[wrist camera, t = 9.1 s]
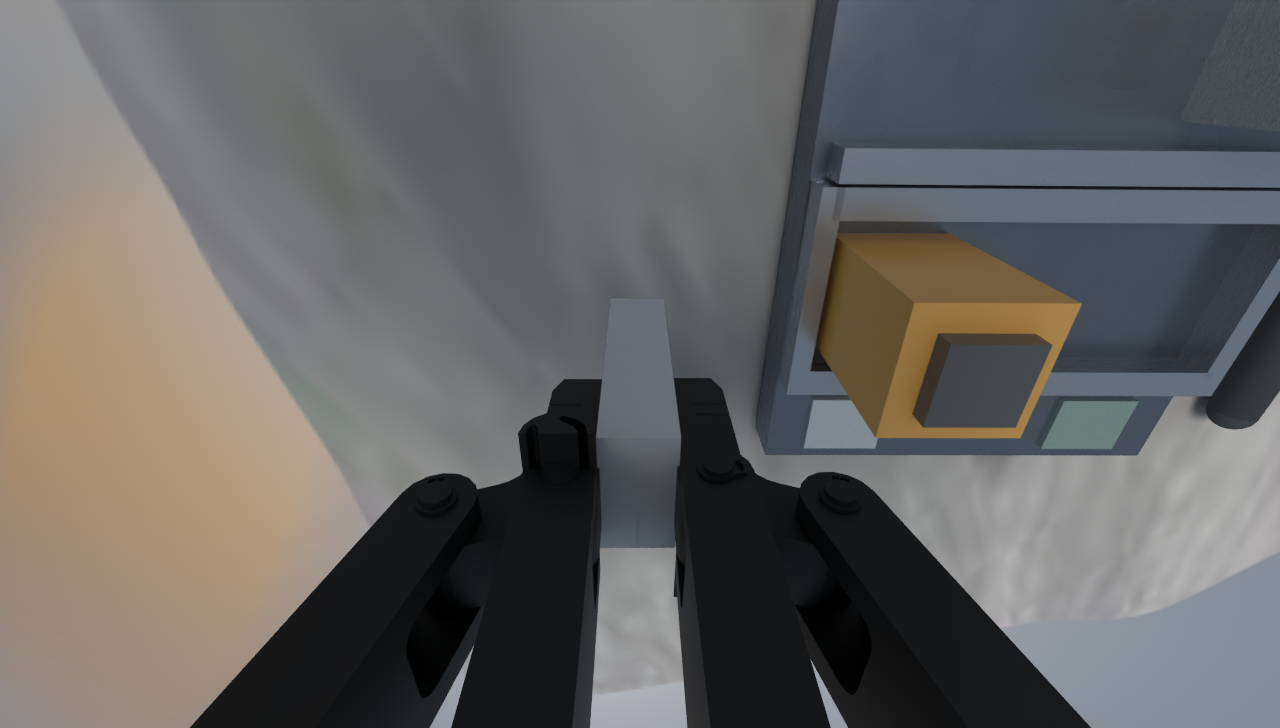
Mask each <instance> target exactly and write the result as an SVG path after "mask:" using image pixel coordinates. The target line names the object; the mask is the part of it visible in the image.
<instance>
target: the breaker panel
mask: <svg viewBox="0 0 1280 728" xmlns="http://www.w3.org/2000/svg"><path fill="white" fill-rule="evenodd" d="M837 233H920V234H951V235H953V236H955V237H957V238H959V239H961V240H963V241H965V242H967V243H968V244H970V245H972V246H974V247H976V248H978V249H980V250H982V251H984V252H985V253H987V254H989V255H991V256H993V257H995V258H997V259H999V260H1001V261H1002V262H1004V263H1006V264H1008V265H1010V266H1012V267H1014V268H1016V269H1018V270H1019V271H1021V272H1023V273H1025V274H1027V275H1029V276H1031V277H1033V278H1035V279H1036V280H1038V281H1040V282H1042V283H1044V284H1046V285H1048V286H1050V287H1052V288H1053V289H1055V290H1057V291H1059V292H1061V293H1063V294H1065V295H1067V296H1069V297H1070V298H1072V299H1074V300H1076V301H1078V302H1080V303H1082V305H1081V307H1080V309H1079V311H1078V313H1077V316H1076V318H1075V320H1074V322H1073V324H1072V327H1071V329H1070V331H1069V333H1068V335H1067V337H1066V340H1065V342H1064V344H1063V346H1062V348H1061V351H1060V353H1059V355H1058V357H1057V359H1056V361H1055V364H1054V366H1053V368H1052V370H1051V372H1050V375H1049V377H1048V379H1047V381H1046V383H1045V385H1044V388H1043V390H1042V392H1041V394H1040V396H1039V399H1038V401H1037V403H1036V405H1035V407H1034V409H1033V412H1032V414H1031V416H1030V418H1029V420H1028V423H1027V425H1026V427H1025V429H1024V431H1023V433H1022V436H1021V438H875V436H874V435H873V433H872V432H871V430H870V429H869V427H868V426H867V424H866V422H865V421H864V419H863V418H862V416H861V415H860V413H859V412H858V410H857V409H856V407H855V405H854V404H853V402H852V401H851V399H850V398H849V396H848V395H847V393H846V392H845V390H844V389H843V387H842V385H841V384H840V382H839V381H838V379H837V378H836V376H835V375H834V373H833V372H832V370H831V368H830V367H829V365H828V364H827V362H826V361H825V359H824V358H823V356H822V355H821V353H820V351H819V350H818V348H817V347H816V345H815V344H816V339H817V334H818V328H819V323H820V318H821V313H822V308H823V303H824V298H825V293H826V288H827V283H828V277H829V272H830V267H831V262H832V257H833V252H834V247H835V242H836V237H837ZM1279 292H1280V0H818V3H817V10H816V17H815V23H814V30H813V37H812V44H811V51H810V58H809V65H808V72H807V78H806V85H805V92H804V99H803V106H802V113H801V120H800V126H799V133H798V140H797V147H796V154H795V161H794V168H793V175H792V181H791V188H790V195H789V202H788V209H787V216H786V223H785V229H784V236H783V243H782V250H781V257H780V264H779V271H778V277H777V284H776V291H775V298H774V305H773V312H772V319H771V326H770V332H769V339H768V346H767V353H766V360H765V367H764V374H763V380H762V387H761V394H760V401H759V408H758V415H757V422H756V429H757V432H758V435H759V438H760V441H761V444H762V447H763V449H764V452H765V455H1138V453H1139V452H1140V450H1141V448H1142V447H1143V445H1144V444H1145V442H1146V440H1147V439H1148V437H1149V435H1150V434H1151V432H1152V430H1153V429H1154V427H1155V425H1156V424H1157V422H1158V421H1159V419H1160V417H1161V416H1162V414H1163V412H1164V411H1165V409H1166V407H1167V406H1168V404H1169V402H1170V401H1171V399H1172V398H1173V396H1212V394H1213V393H1214V391H1215V390H1216V388H1217V387H1218V385H1219V384H1220V382H1221V381H1222V379H1223V378H1224V376H1225V375H1226V373H1227V371H1228V370H1229V368H1230V367H1231V365H1232V364H1233V362H1234V361H1235V359H1236V358H1237V356H1238V355H1239V353H1240V351H1241V350H1242V348H1243V347H1244V345H1245V344H1246V342H1247V341H1248V339H1249V338H1250V336H1251V335H1252V333H1253V332H1254V330H1255V328H1256V327H1257V325H1258V324H1259V322H1260V321H1261V319H1262V318H1263V316H1264V315H1265V313H1266V312H1267V310H1268V308H1269V307H1270V305H1271V304H1272V302H1273V301H1274V299H1275V298H1276V296H1277V295H1278V293H1279Z"/></svg>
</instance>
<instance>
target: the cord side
mask: <svg viewBox="0 0 1280 728" xmlns="http://www.w3.org/2000/svg"><path fill="white" fill-rule="evenodd" d="M1279 391H1280V293H1279V295H1278V296H1277V298H1276V299H1275V301H1274V302H1273V304H1272V305H1271V307H1270V308H1269V310H1268V311H1267V313H1266V315H1265V316H1264V318H1263V319H1262V321H1261V322H1260V324H1259V325H1258V327H1257V328H1256V330H1255V331H1254V333H1253V335H1252V336H1251V338H1250V339H1249V341H1248V342H1247V344H1246V345H1245V347H1244V348H1243V350H1242V351H1241V353H1240V354H1239V356H1238V358H1237V359H1236V361H1235V362H1234V364H1233V365H1232V367H1231V368H1230V370H1229V371H1228V373H1227V374H1226V376H1225V377H1224V379H1223V381H1222V382H1221V384H1220V385H1219V387H1218V388H1217V390H1216V391H1215V393H1214V394H1213V396H1212V397H1211V399H1210V400H1209V402H1208V404H1207V406H1206V413H1207V416H1208V417H1209V419H1210V420H1211V421H1212V422H1213V423H1215V424H1216V425H1218V426H1220V427H1223V428H1227V429H1243V428H1247V427H1250V426H1252V425H1253V424H1255V423H1256V422H1257V421H1258V420H1259V419H1260V417H1261V416H1262V415H1263V413H1264V412H1265V410H1266V409H1267V408H1268V406H1269V405H1270V404H1271V402H1272V401H1273V399H1274V398H1275V397H1276V395H1277V394H1278V393H1279Z"/></svg>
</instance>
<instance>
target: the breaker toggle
mask: <svg viewBox="0 0 1280 728" xmlns="http://www.w3.org/2000/svg"><path fill="white" fill-rule="evenodd" d="M1081 305H1082V303H1080V302H1078V301H1076V300H1074V299H1072V298H1070V297H1069V296H1067V295H1065V294H1063V293H1061V292H1059V291H1057V290H1055V289H1053V288H1052V287H1050V286H1048V285H1046V284H1044V283H1042V282H1040V281H1038V280H1036V279H1035V278H1033V277H1031V276H1029V275H1027V274H1025V273H1023V272H1021V271H1019V270H1018V269H1016V268H1014V267H1012V266H1010V265H1008V264H1006V263H1004V262H1002V261H1001V260H999V259H997V258H995V257H993V256H991V255H989V254H987V253H985V252H984V251H982V250H980V249H978V248H976V247H974V246H972V245H970V244H968V243H967V242H965V241H963V240H961V239H959V238H957V237H955V236H953V235H951V234H920V233H837V237H836V242H835V247H834V252H833V257H832V262H831V267H830V272H829V277H828V283H827V288H826V293H825V298H824V303H823V308H822V313H821V318H820V323H819V328H818V334H817V339H816V344H815V345H816V347H817V348H818V350H819V351H820V353H821V355H822V356H823V358H824V359H825V361H826V362H827V364H828V365H829V367H830V368H831V370H832V372H833V373H834V375H835V376H836V378H837V379H838V381H839V382H840V384H841V385H842V387H843V389H844V390H845V392H846V393H847V395H848V396H849V398H850V399H851V401H852V402H853V404H854V405H855V407H856V409H857V410H858V412H859V413H860V415H861V416H862V418H863V419H864V421H865V422H866V424H867V426H868V427H869V429H870V430H871V432H872V433H873V435H874V436H875V438H1021V436H1022V433H1023V431H1024V429H1025V427H1026V425H1027V423H1028V420H1029V418H1030V416H1031V414H1032V412H1033V409H1034V407H1035V405H1036V403H1037V401H1038V399H1039V396H1040V394H1041V392H1042V390H1043V388H1044V385H1045V383H1046V381H1047V379H1048V377H1049V375H1050V372H1051V370H1052V368H1053V366H1054V364H1055V361H1056V359H1057V357H1058V355H1059V353H1060V351H1061V348H1062V346H1063V344H1064V342H1065V340H1066V337H1067V335H1068V333H1069V331H1070V329H1071V327H1072V324H1073V322H1074V320H1075V318H1076V316H1077V313H1078V311H1079V309H1080V307H1081Z"/></svg>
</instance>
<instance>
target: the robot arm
mask: <svg viewBox="0 0 1280 728" xmlns="http://www.w3.org/2000/svg"><path fill="white" fill-rule="evenodd" d="M518 436H519V444H520V452H521V460H522V468H523V472H522V474H521V475H520V476H519V477H517V478H515V479H513V480H511V481H508V482H505V483H502V484H499V485H495V486H490V487H486V488H482V489H477V488H476V485H475V484H474V483H473V482H472V481H471V480H470V479H469V478H468V477H465V476H462V475H459V474H445V473H443V474H438V475H434V476H429V477H426V478H424V479H422V480H420V481H418V482H416V483H413V484H412V485H411V486H410V487H409V488H407V489H406V490H405V491H404V492H402V493H401V495H400V496H399V497H398V498H397V499H396V500H395V501H394V502H393V503H392V505H391V506H390V507H389V508H388V509H387V510H386V511H385V512H384V513H383V514H382V516H381V517H380V518H379V519H378V520H377V521H376V522H375V523H374V524H373V526H372V527H371V528H370V529H369V530H368V531H367V532H366V533H365V534H364V536H363V537H362V538H361V539H360V540H359V541H358V542H357V543H356V545H355V546H354V547H353V548H352V549H351V550H350V551H349V552H348V553H347V554H346V555H345V557H344V558H343V559H342V560H341V561H340V562H339V563H338V564H337V565H336V566H335V568H334V569H333V570H332V571H331V572H330V573H329V574H328V575H327V576H326V578H325V579H324V580H323V581H322V582H321V583H320V584H319V585H318V586H317V588H316V589H315V590H314V591H313V592H312V593H311V594H310V595H309V596H308V597H307V599H306V600H305V601H304V602H303V603H302V604H301V605H300V606H299V607H298V609H297V610H296V611H295V612H294V613H293V614H292V615H291V616H290V617H289V618H288V620H287V621H286V622H285V623H284V624H283V625H282V626H281V627H280V628H279V630H278V631H277V632H276V633H275V634H274V635H273V636H272V637H271V638H270V640H269V641H268V642H267V643H266V644H265V645H264V646H263V647H262V648H261V649H260V651H259V652H258V653H257V654H256V655H255V656H254V657H253V658H252V659H251V661H250V662H249V663H248V664H247V665H246V666H245V667H244V668H243V670H242V671H241V672H240V673H239V674H238V675H237V676H236V677H235V678H234V679H233V680H232V682H231V683H230V684H229V685H228V686H227V687H226V688H225V689H224V690H223V692H222V693H221V694H220V695H219V696H218V697H217V698H216V699H215V700H214V701H213V703H212V704H211V705H210V706H209V707H208V708H207V709H206V710H205V711H204V713H203V714H202V715H201V716H200V717H199V718H198V719H197V720H196V721H195V723H194V724H193V725H192V726H191V727H190V728H430V726H431V724H432V722H433V720H434V718H435V716H436V715H437V713H438V711H439V709H440V707H441V705H442V703H443V702H444V700H445V698H446V696H447V694H448V692H449V690H450V689H451V686H452V685H453V683H454V681H455V679H456V677H457V675H458V674H459V672H460V670H461V668H462V666H463V664H464V662H465V661H466V659H467V657H468V655H469V653H470V651H471V649H472V647H473V646H474V648H473V652H472V655H471V659H470V662H469V666H468V669H467V673H466V677H465V680H464V684H463V687H462V691H461V695H460V698H459V703H458V706H457V709H456V713H455V716H454V720H453V723H452V727H451V728H590V717H591V703H592V688H593V673H594V658H595V643H596V628H597V613H598V597H599V582H600V548H675V540H676V566H675V582H674V597H677V599H678V612H679V625H680V638H681V651H682V663H683V676H684V688H685V701H686V715H687V727H688V728H831V727H830V724H829V721H828V717H827V714H826V711H825V707H824V704H823V700H822V697H821V694H820V690H819V687H818V683H817V680H816V677H815V673H814V670H813V667H812V663H811V661H812V662H813V664H814V666H815V668H816V670H817V671H818V673H819V675H820V677H821V679H822V680H823V682H824V684H825V686H826V688H827V690H828V692H829V693H830V695H831V697H832V699H833V700H834V702H835V704H836V706H837V708H838V710H839V712H840V713H841V715H842V717H843V719H844V720H845V722H846V724H847V726H848V728H1091V727H1090V726H1089V725H1088V724H1087V723H1086V722H1085V721H1084V720H1083V719H1082V717H1081V716H1080V715H1079V714H1078V713H1077V712H1076V711H1075V710H1074V709H1073V708H1072V706H1070V704H1069V703H1068V702H1067V701H1066V700H1065V699H1064V698H1063V697H1062V696H1061V694H1060V693H1059V692H1058V691H1057V690H1056V689H1055V688H1054V687H1053V686H1052V685H1051V684H1050V683H1049V682H1048V680H1047V679H1046V678H1045V677H1044V676H1043V675H1042V674H1041V673H1040V672H1039V671H1038V669H1037V668H1036V667H1034V665H1033V664H1032V663H1031V662H1030V661H1029V660H1028V659H1027V658H1026V656H1025V655H1024V654H1023V653H1022V652H1021V651H1020V650H1019V649H1018V648H1017V647H1016V645H1015V644H1014V643H1013V642H1012V641H1011V640H1010V639H1009V638H1008V637H1007V636H1006V635H1005V633H1004V632H1003V631H1002V630H1001V629H1000V628H999V627H998V626H997V625H996V624H995V623H994V622H993V620H992V619H991V618H990V617H989V616H988V615H987V614H986V613H985V612H984V611H983V610H982V608H981V607H980V606H979V605H978V604H977V603H976V602H975V601H974V600H973V599H972V598H971V596H970V595H969V594H968V593H967V592H966V591H965V590H964V589H963V588H962V587H961V586H960V584H959V583H958V582H957V581H956V580H955V579H954V578H953V577H952V576H951V575H950V574H949V572H948V571H947V570H946V569H945V568H944V567H943V566H942V565H941V564H940V563H939V562H938V561H937V559H936V558H935V557H934V556H933V555H932V554H931V553H930V552H929V551H928V550H927V549H926V547H925V546H924V545H923V544H922V543H921V542H920V541H919V540H918V539H917V538H916V537H915V535H914V534H913V533H912V532H911V531H910V530H909V529H908V528H907V527H906V526H905V525H904V523H903V522H902V521H901V520H900V519H899V518H898V517H897V516H896V515H895V514H894V513H893V511H892V510H891V509H890V508H889V507H888V506H887V505H886V504H885V503H884V502H883V501H882V500H881V498H880V497H879V496H878V495H877V494H876V493H875V492H874V491H873V490H872V489H871V488H869V487H868V486H867V485H866V484H864V483H863V482H861V481H859V480H857V479H855V478H853V477H851V476H849V475H844V474H840V473H835V472H819V473H816V474H813V475H811V476H808V477H807V478H806V479H805V480H804V481H803V482H802V483H801V487H800V488H796V487H792V486H788V485H783V484H779V483H776V482H773V481H769V480H767V479H765V478H763V477H761V476H759V475H757V474H756V473H755V471H754V469H753V468H752V466H751V464H750V462H749V461H748V460H746V459H745V458H744V457H742V456H741V455H740V451H739V448H738V444H737V441H736V437H735V433H734V430H733V426H732V423H731V419H730V416H729V412H728V408H727V405H726V401H725V397H724V394H723V390H722V389H721V388H720V387H719V386H718V385H717V384H716V383H715V382H714V381H713V380H712V379H711V378H673V370H672V362H671V354H670V346H669V338H668V331H667V323H666V315H665V307H664V299H663V298H611V302H610V312H609V321H608V330H607V340H606V349H605V358H604V368H603V377H602V379H564V380H563V381H562V382H561V383H560V384H559V385H558V386H557V387H556V388H555V389H554V390H553V392H552V396H551V399H550V403H549V407H548V411H547V414H544V415H541V416H538V417H535V418H533V419H531V420H530V421H529V422H527V423H526V424H524V425H523V427H522V428H521V430H520V431H519V433H518ZM810 659H811V660H810Z"/></svg>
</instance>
